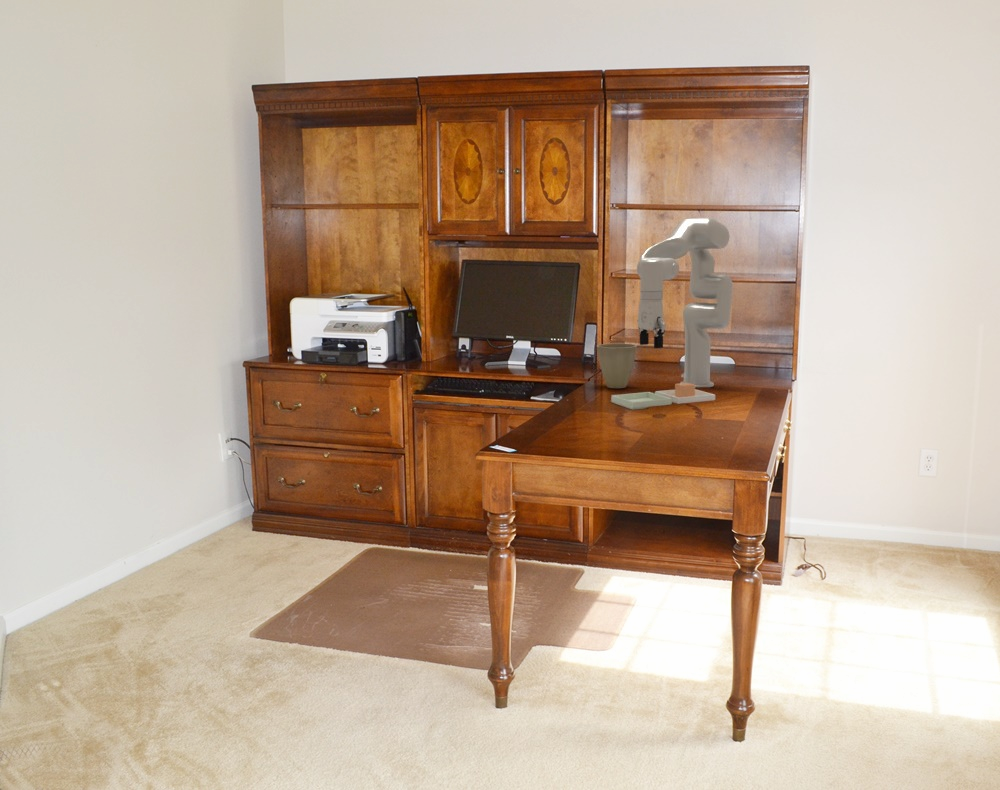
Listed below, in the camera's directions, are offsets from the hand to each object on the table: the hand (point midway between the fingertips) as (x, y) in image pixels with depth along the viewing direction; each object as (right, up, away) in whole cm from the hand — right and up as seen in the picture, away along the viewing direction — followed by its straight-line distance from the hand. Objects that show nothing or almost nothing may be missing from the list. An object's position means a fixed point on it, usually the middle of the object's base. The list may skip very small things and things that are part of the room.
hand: (651, 346), depth 325 cm
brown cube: (+13, -18, +8) cm, 24 cm away
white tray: (+13, -18, +8) cm, 24 cm away
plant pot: (-7, -14, +38) cm, 41 cm away
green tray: (-3, -20, +2) cm, 20 cm away
